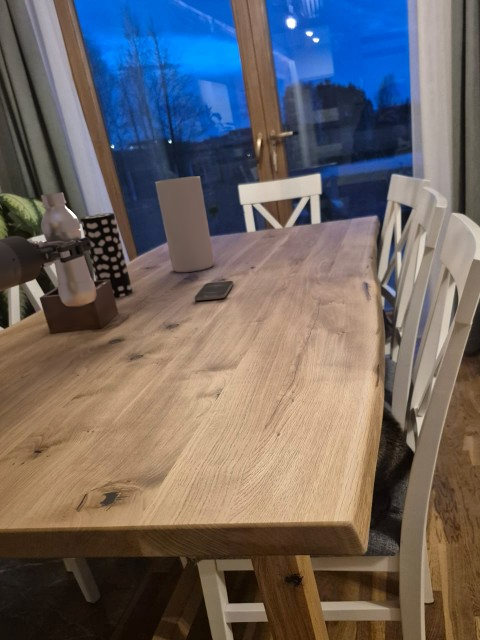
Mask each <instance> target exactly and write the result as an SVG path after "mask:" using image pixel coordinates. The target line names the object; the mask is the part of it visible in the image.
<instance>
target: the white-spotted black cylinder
mask: <svg viewBox="0 0 480 640" xmlns="http://www.w3.org/2000/svg"><path fill="white" fill-rule="evenodd" d="M79 221H80V225H81V228H82V231H83V236H84V237H88V238H89V239H90V242H91V246H92V248H91V250H88V255H89V258H90V262H91V267H92V270H93V274H94V277H95V281H98V280H108V279H110V282H111V286H112V290H113V294H114V298H115V299H117V298H122V297H126V296H129V295H130V294H132V293H133V287H132V282H131V279H130V274H129V270H128V266H127V262H126V258H125V253H124V249H123V245H122V240H121V237H120V233H119V228H118V223H117V219H116V215H115V213H114V212H107V213H98V214H92V215H85V216H82V217H80V218H79Z"/></svg>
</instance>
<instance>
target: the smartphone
mask: <svg viewBox="0 0 480 640" xmlns="http://www.w3.org/2000/svg"><path fill="white" fill-rule="evenodd" d="M232 287H234V281H233V280H226V281H224V280H223V281H214V282H207V283H205V284H203V286H202V287H201V289H200V290H198V292H197V293H196V294H195V296H194V301H206V300H217V299H218V300H219V299H224V298H226V297H227V295H228V294H229V292H230V291H231V289H232Z"/></svg>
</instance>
